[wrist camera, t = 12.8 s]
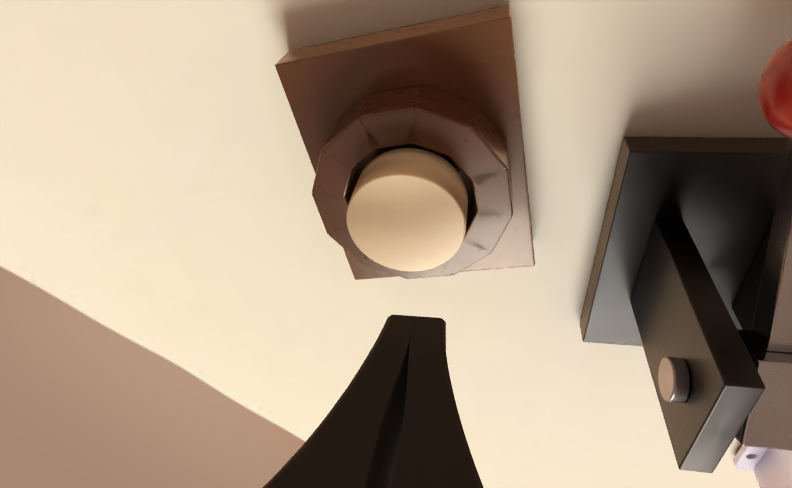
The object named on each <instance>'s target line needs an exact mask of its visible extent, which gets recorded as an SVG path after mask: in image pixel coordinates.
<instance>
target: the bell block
mask: <svg viewBox="0 0 792 488" xmlns="http://www.w3.org/2000/svg"><path fill="white" fill-rule="evenodd" d="M275 67H276V69H277V72H278V75H279V77H280V80H281V83H282V85H283V88H284V91H285V93H286V96H287V99H288V101H289V104H290V107H291V109H292V112H293V115H294V117H295V120H296V123H297V125H298V128H299V131H300V133H301V136H302V139H303V141H304V144H305V147H306V149H307V152H308V155H309V157H310V160H311V163H312V165H313V168H314V171H315V173H316V176H315V181H314V185H313V190H312V192H313V193H312V195H313V198H314V200H315V203H316V206H317V208H318V211H319V213H320V216H321V218H322V221H323V223H324V226H325V229H326V231H327V233H328V234H329V235H330V236H331V237H332V238H333V239H334V240H335V241H336V242H338V243H339V244H340V245H341V246H342V247H343V248H344V251H345V254H346V256H347V259H348V262H349V264H350V267H351V270H352V272H353V275H354V278H355V279H356V280H357V279H370V278H383V277H396V276H400V277H403V278H408V279H409V278H422V277H435V276H448V275H454V274H456V273H457V272H460V271H473V270H486V269H499V268H512V267H525V266H534V265H535V260H534V249H533V238H532V228H531V218H530V207H529V197H528V187H527V176H526V166H525V156H524V145H523V135H522V124H521V114H520V104H519V93H518V83H517V73H516V62H515V52H514V42H513V31H512V21H511V11H510V6H509V5H506V6H501V7H497V8H492V9H487V10H482V11H478V12H473V13H468V14H463V15H459V16H454V17H449V18H444V19H440V20H435V21H430V22H425V23H421V24H416V25H411V26H406V27H402V28H397V29H392V30H387V31H383V32H378V33H373V34H368V35H364V36H359V37H354V38H349V39H345V40H340V41H335V42H330V43H326V44H321V45H316V46H311V47H307V48H302V49H297V50H292V51H289V52H287V54H286V55H285V56H284V57H283V58H282V59H281V60H280V61H279V62H278V63H277V64H276V65H275ZM400 148H416V149H422V150H426V151H430V152H432V153H434V154H437V155H439V156H440V157H442V158H444V159H445V160H447V161H448V162H449V163H450V164H451V165H453V166H454V167H455V168H456V170H457V171H458V172H459V173H460V175H461V177H462V178H463V180H464V182H465V185H466V188H467V192H468V209H467V222H466V233H465V238H464V241H463V243H462V245H461V247H460V248H459V250H458V251H457V252H456V254H455V255H454V256H453V257H452V258H450V259H449V260H448V261H446V262H445V263H443V264H441V265H439V266H437V267H435V268H432V269H428V270H424V271H411V272H410V271H400V270H395V269H391V268H388V267H385V266H383V265H381V264H379V263H377V262H375V261H373V260H372V259H370V258H369V257H367V256H366V255H365V254H364V253H363V252H362V251H361V250H360V249H359V248H358V247H357V246H356V244H355V243H354V241H353V240H352V238H351V236H350V233H349V231H348V227H347V221H346V212H347V207H348V204H349V201H350V199H351V196H352V194H353V191H354V189H355V186H356V184H357V182H358V179H359V177H360V174H361V173H362V171H363V169H364V168H365V167H366V165H367V164H368V163H369V162H370V161H372V160H373V159H374V158H376V157H377V156H379V155H381V154H383V153H385V152H388V151H390V150H394V149H400Z"/></svg>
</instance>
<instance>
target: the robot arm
mask: <svg viewBox="0 0 792 488" xmlns="http://www.w3.org/2000/svg"><path fill="white" fill-rule="evenodd" d="M733 462H734V465H735V467H736V468H738V469H741V470H749V471H754V473H755V476H756V478H757V481H758V483H759V486H760V488H792V451H787V450H777V449H767V448H757V447H747V446H742V447H741V448H740V450H739V451H738V453H737V454H736V456H735V457H734V459H733ZM263 488H483V485H482V483H481V480H480V477H479V475H478V472H477V470H476V467H475V464H474V461H473V458H472V455H471V453H470V450H469V447H468V444H467V441H466V437H465V434H464V431H463V428H462V424H461V421H460V417H459V414H458V410H457V406H456V402H455V399H454V394H453V390H452V385H451V380H450V376H449V370H448V364H447V357H446V322H445V321H444V320H443V319H442V318H432V317H417V316H403V315H391V316H389V317H388V318H387V321H386V323H385V325H384V327H383V329H382V331H381V333H380V335H379V337H378V339H377V341H376V342H375V344H374V346H373V348H372V349H371V351H370V353H369V355H368V356H367V358H366V360H365V361H364V363H363V364H362V366H361V367H360V369H359V371H358V372H357V374H356V375H355V377H354V378H353V380H352V382H351V383H350V384H349V386H348V387H347V389H346V390H345V392H344V393H343V394H342V396H341V397H340V399H339V400H338V401H337V403H336V404H335V405H334V407H333V408H332V410H331V411H330V412H329V414H328V415H327V416H326V418H325V419H324V420H323V421H322V423H321V424H320V425H319V426H318V428H317V429H316V430H315V431H314V433H313V434H312V435H311V436H310V437H309V438H308V440H307V441H306V442H305V443H304V445H303V446H302V447H301V448H300V449H299V450H298V451H297V452H296V453H295V455H294V456H293V457H292V458H291V459H290V460H289V461H288V462H287V463H286V464H285V465H284V466H283V467H282V469H281V470H280V471H279V472H278V473H277V474H276V475H275V476H274V477H273V478H272V479H271V480H270V481H269V482H268V483H267V484H266V485H265V486H264V487H263Z"/></svg>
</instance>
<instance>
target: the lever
mask: <svg viewBox="0 0 792 488" xmlns="http://www.w3.org/2000/svg"><path fill="white" fill-rule="evenodd" d="M758 100H759V105H760V108H761V111H762V113H763V115H764V117H765V119H766V120H767V121H768V123H769V124H770V125H771V126H772V127H773V128H774V129H775V130H777V131H778V132H780V133H781V134H783V135H785V136H787V137H788V142H787V147H786V153H785V158H784V163H783V168H782V174H781V179H780V184H779V189H778V194H777V200H776V205H775V210H774V215H773V221H772V226H771V231H770V236H769V242H768V247H767V252H766V257H765V263H764V268H763V273H762V278H761V283H760V289H759V294H758V299H757V304H756V310H755V315H754V320H753V325H752V330H738V329H737V330H738V332H739V334H740V336H741V338H742V340H743V342H744V344H745V346H746V348H747V350H748V353H749V355H750V357H751V359H752V361H753V363H754V365H755V367H756V369H757V371H758V373H759V375H760V377H761V379H762V381H763V383H764V385H765V390H764V392H763V393H762V395H761V396H760V398H759V399H758V401H757V403H756V404H755V406H754V407H753V409H752V411H751V412H750V414H749V415H748V417H747V419H746V420H745V422H744V423H743V425H742V426H741V428H740V430H739V431H738V433H737V434H736V436H735V438H736V439H737V441H738V442H739V443H740V444H741V445H742V446H747V447H757V448H767V449H777V450H787V451H792V38H790V39H789V40H788V41H786V42H785V43H784V44H783V45H782V46H781V47H780V48H779V49H778V50H777V51H776V52H775V53H774V55H773V56H772V57H771V58H770V60H769V61H768V63H767V64H766V66H765V68H764V70H763V72H762V75H761V78H760V82H759V87H758Z"/></svg>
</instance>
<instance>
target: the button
mask: <svg viewBox="0 0 792 488" xmlns="http://www.w3.org/2000/svg"><path fill="white" fill-rule="evenodd" d="M467 209H468V192H467V188H466V185H465V182H464V180H463V178H462V177H461V175H460V173H459V172H458V171H457V170H456V168H455V167H454V166H453V165H451V164H450V163H449V162H448V161H447V160H445V159H444V158H442V157H440V156H439V155H437V154H434V153H432V152H430V151H426V150H422V149H416V148H400V149H394V150H390V151H388V152H385V153H383V154H381V155H379V156H377V157H376V158H374V159H373V160H372V161H370V162H369V163H368V164H367V165H366V167H365V168H364V169H363V171H362V173H361V174H360V177H359V179H358V182H357V184H356V186H355V189H354V191H353V194H352V196H351V199H350V201H349V204H348V207H347V212H346V221H347V227H348V231H349V233H350V236H351V238H352V240H353V241H354V243H355V244H356V246H357V247H358V248H359V249H360V250H361V251H362V252H363V253H364V254H365V255H366V256H367V257H369V258H370V259H372V260H373V261H375V262H377V263H379V264H381V265H383V266H385V267H388V268H391V269H395V270H400V271H410V272H411V271H424V270H428V269H432V268H435V267H437V266H439V265H441V264H443V263H445V262H446V261H448V260H449V259H450V258H452V257H453V256H454V255H455V254H456V252H457V251H458V250H459V248H460V247H461V245H462V243H463V241H464V238H465V233H466V222H467Z"/></svg>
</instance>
